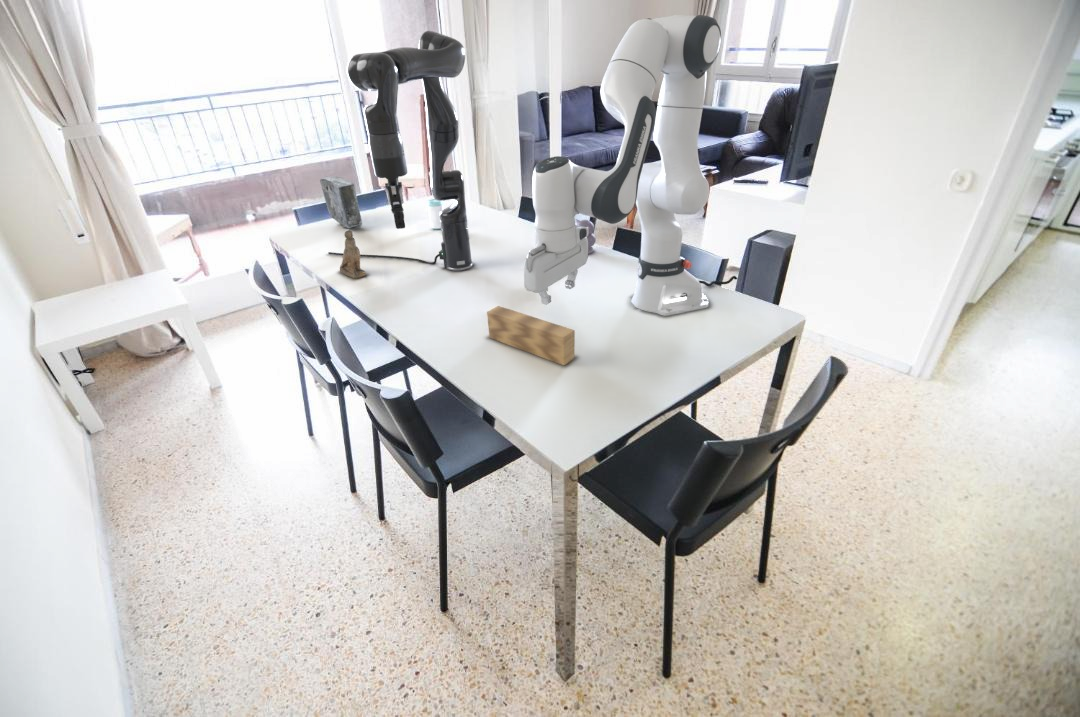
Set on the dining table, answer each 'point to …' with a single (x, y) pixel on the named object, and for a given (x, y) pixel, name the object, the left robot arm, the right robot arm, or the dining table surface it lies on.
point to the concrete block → (341, 201)
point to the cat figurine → (590, 236)
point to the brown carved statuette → (351, 258)
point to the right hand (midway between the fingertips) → (558, 295)
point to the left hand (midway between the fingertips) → (400, 223)
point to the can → (435, 213)
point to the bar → (532, 334)
